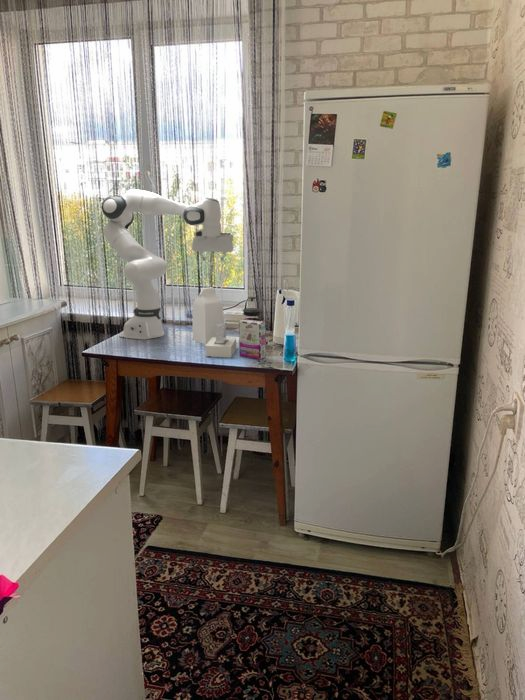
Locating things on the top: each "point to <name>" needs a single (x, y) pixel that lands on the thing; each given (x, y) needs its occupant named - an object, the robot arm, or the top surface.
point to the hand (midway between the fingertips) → (213, 260)
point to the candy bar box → (252, 339)
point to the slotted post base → (221, 348)
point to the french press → (252, 311)
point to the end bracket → (221, 333)
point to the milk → (206, 315)
